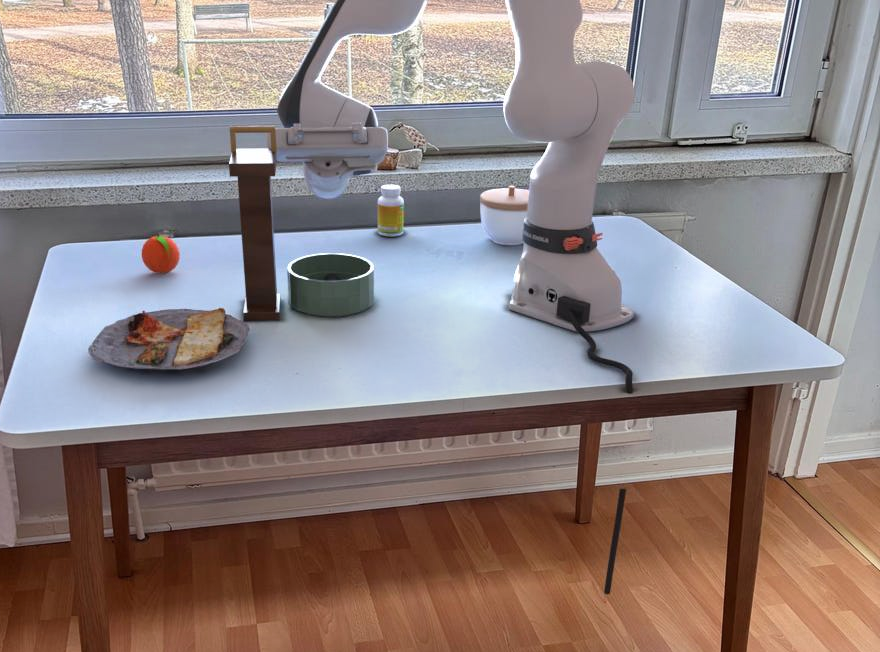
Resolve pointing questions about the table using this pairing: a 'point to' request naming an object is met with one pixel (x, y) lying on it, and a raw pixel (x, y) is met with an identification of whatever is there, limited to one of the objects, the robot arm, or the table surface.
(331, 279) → the glue stick
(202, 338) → the food plate
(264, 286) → the stand
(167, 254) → the clementine
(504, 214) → the lidded bowl
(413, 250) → the table surface
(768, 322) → the table surface
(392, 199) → the supplement bottle
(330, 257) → the bowl
